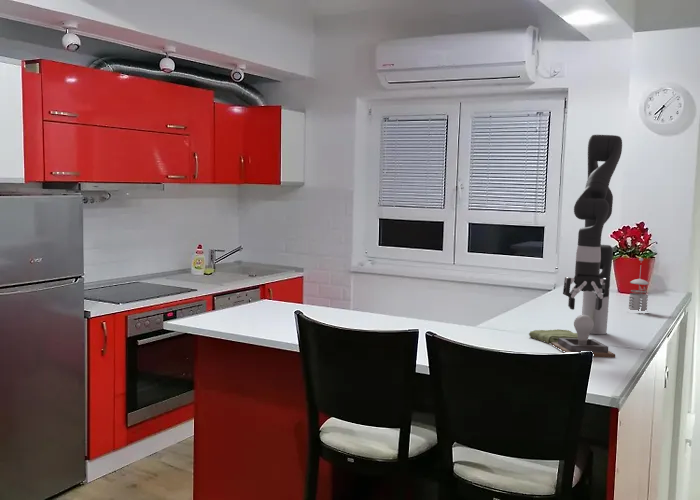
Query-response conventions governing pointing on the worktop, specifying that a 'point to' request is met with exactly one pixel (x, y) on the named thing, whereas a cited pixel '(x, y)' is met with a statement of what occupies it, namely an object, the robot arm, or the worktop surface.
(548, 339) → the washcloth
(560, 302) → the worktop surface
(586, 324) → the lightbulb
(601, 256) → the robot arm
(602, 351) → the socket stand
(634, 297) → the french press
